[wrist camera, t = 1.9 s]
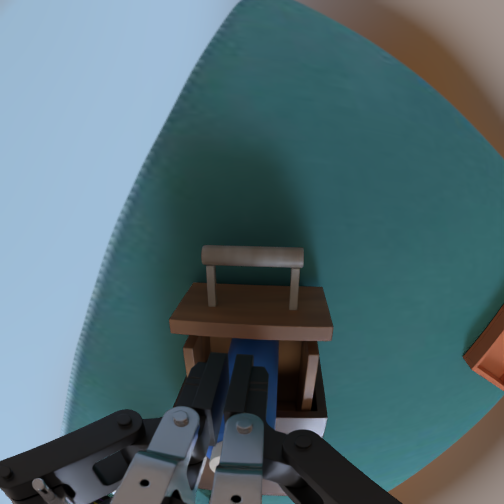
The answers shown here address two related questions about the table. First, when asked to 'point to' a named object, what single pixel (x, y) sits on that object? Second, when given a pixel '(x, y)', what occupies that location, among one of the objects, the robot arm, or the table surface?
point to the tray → (489, 352)
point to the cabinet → (284, 431)
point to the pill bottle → (268, 358)
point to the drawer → (258, 318)
